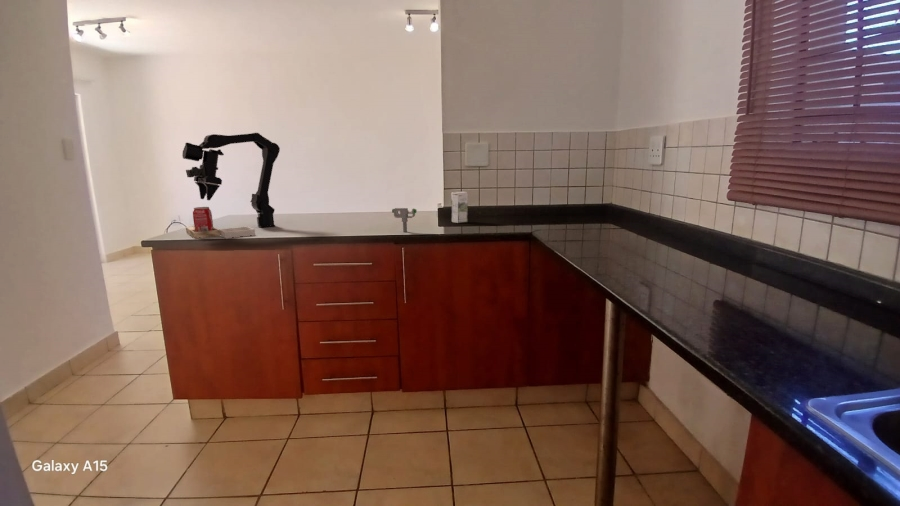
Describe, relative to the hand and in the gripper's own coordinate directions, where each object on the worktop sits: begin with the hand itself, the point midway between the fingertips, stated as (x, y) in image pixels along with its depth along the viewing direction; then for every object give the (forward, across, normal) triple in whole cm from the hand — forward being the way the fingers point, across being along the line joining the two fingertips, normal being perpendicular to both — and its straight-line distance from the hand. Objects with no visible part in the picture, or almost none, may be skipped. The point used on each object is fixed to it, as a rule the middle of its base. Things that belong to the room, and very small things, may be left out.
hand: (205, 199), depth 202 cm
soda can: (+15, +6, 0) cm, 17 cm away
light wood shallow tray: (+15, +1, +1) cm, 15 cm away
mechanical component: (+1, +64, +61) cm, 88 cm away
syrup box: (-8, +60, +96) cm, 113 cm away
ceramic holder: (+13, +15, +10) cm, 22 cm away
